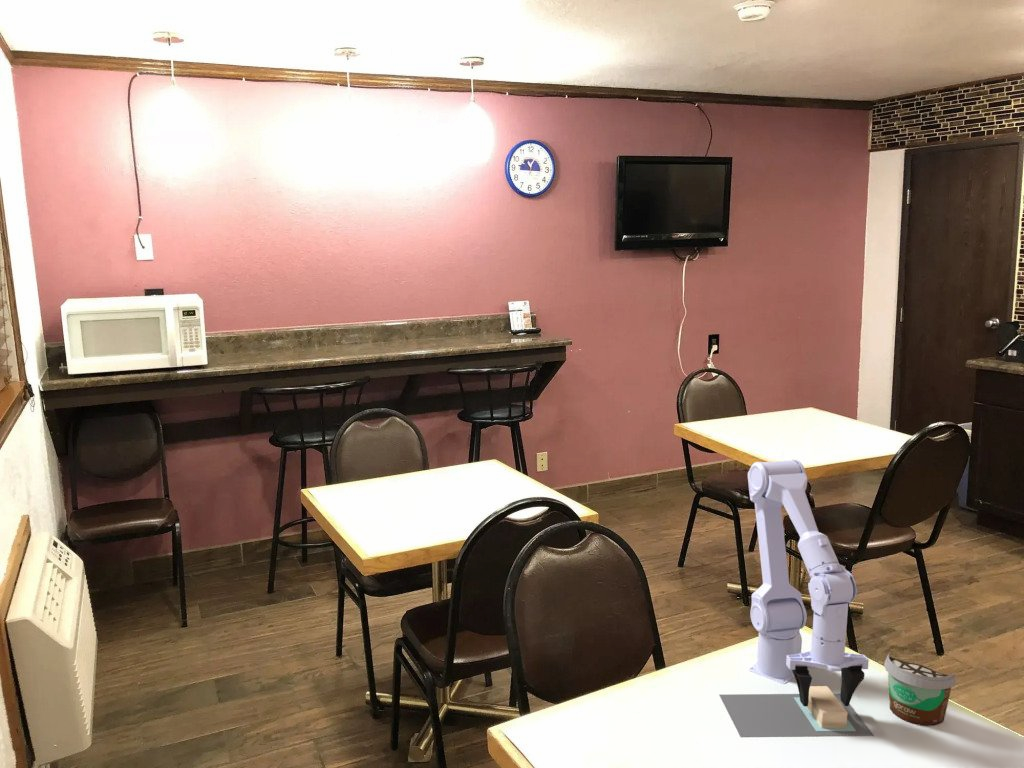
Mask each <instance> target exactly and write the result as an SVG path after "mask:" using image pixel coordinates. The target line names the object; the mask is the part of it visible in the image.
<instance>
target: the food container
mask: <svg viewBox="0 0 1024 768" xmlns="http://www.w3.org/2000/svg"><path fill="white" fill-rule="evenodd" d="M883 664H884V669H885V671H886V672H887V673H888V674H887V675H888V697H889V698H888V701H889V710H890V711H891V712H892V714H893V715H895V716H896V717H897V718H898V719H900V720H902V721H905V722H907V723H910V724H913V725H917V726H923V727H934V726H939V725H941V724H942V723H944V721H945V718H946V713H947V708H948V704H949V701H950V700H949V699H950V694H951V691H952V688H953V687H955V686H956V685H957V678H956V677H957V676H955V672H952V673H951V674H945V673H941V672H939V671H936V670H933V669H932V668H929V667H927V666H925V665H922V664H919V663H913V662H909V661H904V660H901V659H898V658H895V657H892V656H891V652H888V654H887V656H886V657H885V661H884V663H883Z"/></svg>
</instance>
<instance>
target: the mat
mask: <svg viewBox="0 0 1024 768" xmlns="http://www.w3.org/2000/svg"><path fill="white" fill-rule="evenodd" d="M833 694H834V696H835V697H836V698H837V699H838V701H839V702H840V703H841V705H842V706H843V707H844V708H845V710H846V711H847V712H848V713H847V726H846V728H822V727H821V726H820V725H819V723H818V722H817V720H816V719H815V717H814V716H813V715H812V713H811V712H810V710H809V709H808V707H807V706H803V704H802V703H801V702H800V695H799V693H770V694H769V693H763V694H762V693H761V694H759V693H758V694H757V693H756V694H751V693H750V694H748V693H746V694H744V693H743V694H741V693H740V694H729V693H728V694H719V697H720V700H721V702H722V703H723V705H724V708H725V710H726V711H727V713H728V715H729V717H730V719H731V721H732V723H733V725H734V727H735V729H736V730H737V733H738V735H739V737H740V738H790V737H793V738H798V737H799V738H801V737H804V738H805V737H816V738H817V737H875V734H874V733H873V731H872V730H871V729H870V728H869V727H868V725H867V724H866V723H865V722H864V721H863V719H862V718H861V717H860V715H859V714H858V713H857V711H855V708H853V706H852V705H851V704H850V703H849V706H845V705H844V704H843V703H842V701H841V697H840V693H833Z"/></svg>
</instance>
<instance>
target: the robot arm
mask: <svg viewBox="0 0 1024 768" xmlns="http://www.w3.org/2000/svg"><path fill="white" fill-rule="evenodd" d="M806 473H807V472H806V470H805V467H804V465H803V464H802V462H800V460H798V459H791V460H780V461H762V462H761V461H756V462H753V464H752V465H751V466H750V468H749V470H748V472H747V481H748V491H749V492H748V493H749V499H750V501H751V502H752V503H754V511H755V518H756V519H755V520H756V530H757V537H758V538H757V539H758V550H759V556H760V557H759V559H760V567H761V576H762V584H761V585H760V586H759V587H758V588H757V589H756V590H755V591H754V592H753V593H752V594H751V607H750V613H749V614H750V620H751V623H752V625H753V627H754V628H755V630H756V631H757V632H758V638H757V639H758V641H757V660H756V663H755V664H754V665H752V666H751V667H749V668H748V671H749V672H752V673H754V674H757V675H758V676H762V677H764V678H766V679H769V680H772V681H775V682H777V683H780V684H782V685H786V684H787V683H788V682H790V681H791V680H792V679H793V678H794V679H795V682H796V685H797V689H798V694H799V695H800V702H801V703H802V704H803V706H808V702H809V688H810V686H811V683H812V680H813V677H812V676H811V674H810V670H809V669H814V668H817V669H818V668H819V669H826V670H829V671H830V672H834V673H835V672H840V675H841V676H840V678H841V679H840V680H841V681H840V682H841V683H840V684H841V686H840V693H839V694H840V697H841V701H842V703H843V704H844V705H845V706H849V704H850V702H851V700H852V698H853V695H854V693H855V691H856V689H857V688H858V687H859V685H860V684H861V683H862V682H863V681H864V680H865V673H866V672H864V671H863V670H869V662H870V661H869V658H867V656H866V655H865V654H859V653H852V652H851V653H850V652H846V641H847V639H846V637H847V625H848V615H849V614H848V611H849V603H851V602H853V601H854V600H855V599H856V596H857V593H858V592H857V590H858V589H857V584H856V580H855V579H854V575H853V574H852V573H851V572H850V571H849V570H847V569H846V567H845V566H844V565H843V564H840V563H839V560H838V558H837V555H836V553H835V550H834V549H833V546H832V544H831V542H830V539H829V537H828V535H826V534H825V533H822V532H819V528H818V527H817V523H816V521H815V517H814V514H813V512H812V508H811V505H810V503H809V500H808V497H807V494H806V490H807V486H808V476H807V474H806ZM782 506H783V507H784V509H785V510H786V512H787V514H788V517H789V519H790V520H791V522H792V524H793V526H794V529H795V531H796V533H798V536H799V540H798V542H797V548H798V551H799V553H800V556H801V558H802V560H803V561H802V562H803V563H804V565H805V568H806V570H807V574H808V576H809V578H810V580H809V582H808V583H807V585H808V587H807V588H808V592H809V595H810V599H811V600H810V606H811V610H812V611H813V617H812V619H813V620H812V634H811V648H810V650H809V651H804V652H802V645H803V638H802V634H801V633H800V630H801V629H803V628H805V626H806V623H807V619H808V617H807V616H808V615H807V610H806V606H805V605H804V601H803V597H802V593H801V592H800V591H799V590H798V589H797V588H795V586H792V585H791V584H790V577H789V576H790V575H789V570H788V569H789V568H788V560H787V559H788V558H787V557H788V556H787V550H786V549H787V548H786V541H785V532H784V522H783V513H782Z"/></svg>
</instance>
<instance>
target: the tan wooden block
mask: <svg viewBox="0 0 1024 768" xmlns="http://www.w3.org/2000/svg"><path fill="white" fill-rule="evenodd" d="M834 694H835V693H833V692H832V690H831V689H830V688H829V687H828V685H813V686H812V685H810V688H809V702H808V706H807V707H808V709H809V710H810V712H811V713H812V715H813V716H814V717H815V719H816V720H817V722H818V723H819V725H820V726H821V727H822V728H846V726H847V713H848V712H847V711H846V710H845V708H844V707H843V706H842V705H841V703H840V702H839V701H838V699H837V698H836V697H835V696H834Z"/></svg>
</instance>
